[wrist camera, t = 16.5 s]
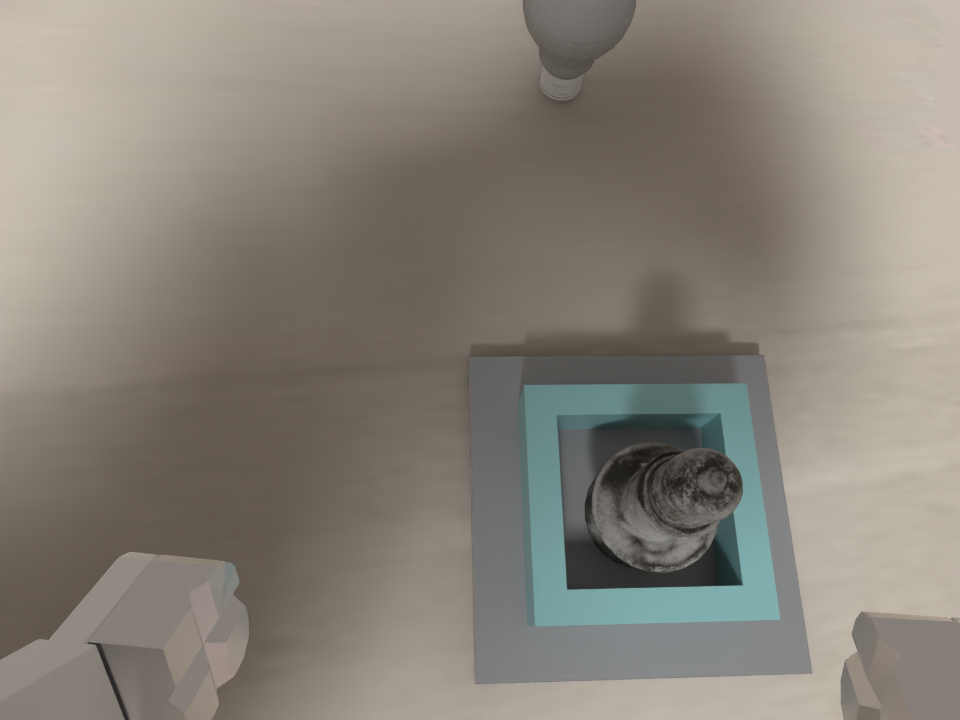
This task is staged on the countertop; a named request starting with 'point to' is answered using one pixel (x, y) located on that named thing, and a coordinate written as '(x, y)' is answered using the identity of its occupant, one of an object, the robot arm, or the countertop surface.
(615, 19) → the light bulb
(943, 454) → the countertop surface
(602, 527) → the salt shaker
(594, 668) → the socket
